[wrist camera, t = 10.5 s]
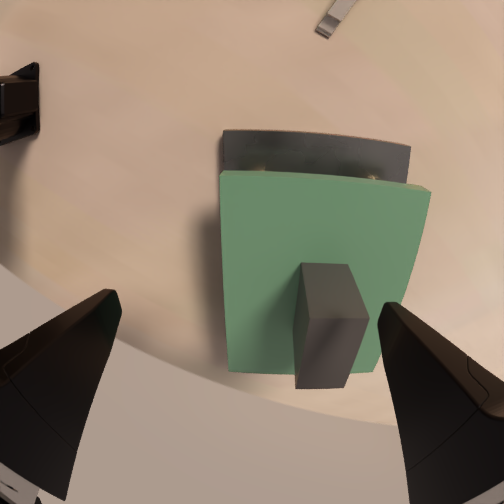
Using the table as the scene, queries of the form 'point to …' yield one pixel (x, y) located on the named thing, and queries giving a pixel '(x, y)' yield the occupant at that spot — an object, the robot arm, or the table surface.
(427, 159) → the table surface
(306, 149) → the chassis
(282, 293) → the board
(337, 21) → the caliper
